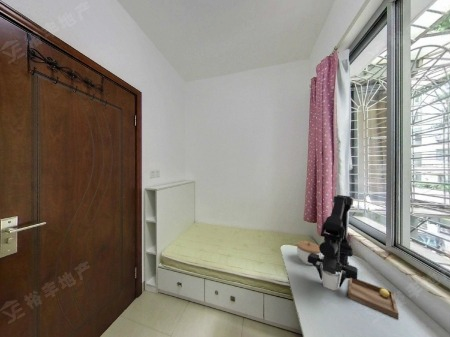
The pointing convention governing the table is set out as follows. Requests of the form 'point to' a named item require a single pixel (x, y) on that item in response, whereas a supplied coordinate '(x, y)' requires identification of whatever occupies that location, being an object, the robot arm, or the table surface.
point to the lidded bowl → (307, 250)
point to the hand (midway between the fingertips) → (330, 283)
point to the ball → (384, 292)
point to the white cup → (330, 280)
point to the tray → (372, 297)
